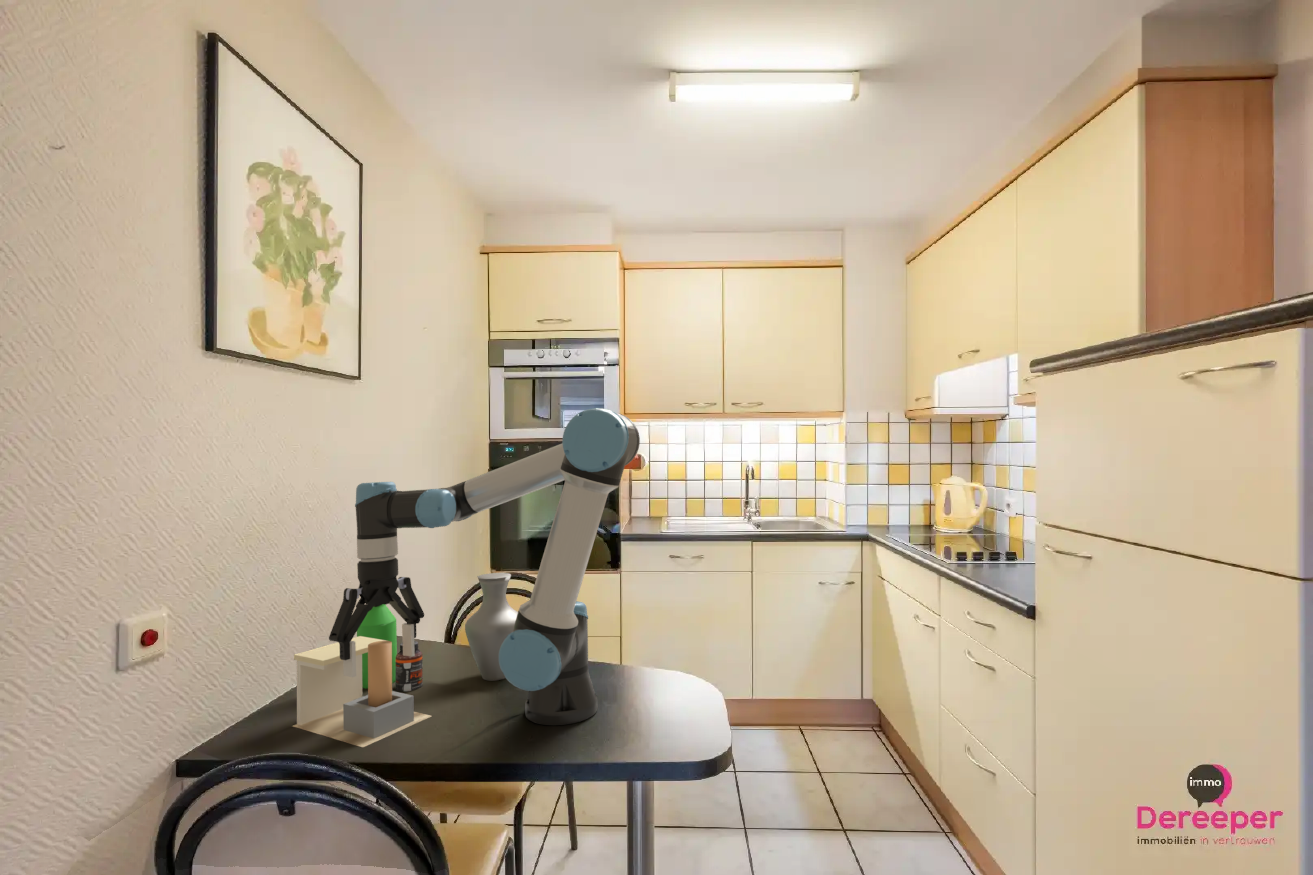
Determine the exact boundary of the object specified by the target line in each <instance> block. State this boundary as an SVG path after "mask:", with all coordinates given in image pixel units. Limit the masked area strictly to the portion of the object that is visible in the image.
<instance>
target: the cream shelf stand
mask: <svg viewBox="0 0 1313 875" xmlns="http://www.w3.org/2000/svg"><path fill="white" fill-rule="evenodd" d="M351 641H355V647H356V676H355V677H349V676H344V669H343V660H341V659H340V645H339V642H335V643H334V642H333V643H330V644H327V645H324V646H320V647H316V648H313V649H310V650H306V651H302V652H299V653H296V654H293V661H294V660H295V661H296V724H298V725H302V724H305V723H307V722H310V721H313V720H315V719H318V718H320V717H323V716H326V715H328V714H331V713H334V712H336V711H339V710H341V709H343V704H345V703H347V702H350V701H353V700H355V699H358V698H361V697H363V688H362V654H364V653H367V652H368V644H370V643H373V642H377V641H386V640H380V639H374V638H368V637H363V636H359V637H357V636H354V637H353V638H352V640H351Z"/></svg>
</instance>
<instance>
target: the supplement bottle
mask: <svg viewBox="0 0 1313 875" xmlns="http://www.w3.org/2000/svg"><path fill="white" fill-rule="evenodd" d="M414 648H415V656H412V657H410V656H404V655H403V642H401V643H400V644H399V652H397V655H396V682H395V691H396V692H410V691H411V692H413V691H416V690H419V689H420V688H422V687H423V685H424V684H423V679H424V678H423V675H424V674H423V670H424V669H423V661H424V660H423V652H422V651H421V650H420V649H419V642H418V641H416V640H414Z"/></svg>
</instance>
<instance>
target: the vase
mask: <svg viewBox="0 0 1313 875" xmlns="http://www.w3.org/2000/svg"><path fill="white" fill-rule="evenodd" d="M511 577H512V574H511V573H507V572H493V573H490V572H489V573H483V574H481V575H477V577H476V578H477V579H478V582H479V584H480V587H481V591H482V597H483V598H482V601H481V605H480V607H479V608H478V609H477V611H476V612H474V613H473V614H472V615H471V616H470V617H469V618H468V619H467V620H466V621H465V624H464V630H465V631H464V632H465V635H466V638H467V642H468V645H469V647H470V648H469V649H470V651H471V654H472V657H473V659H474V662H475V665H476V667H477V670H478V671H479V673H480V676H481V677H482V679H483V680H485V681H499V680H505V679H506V678H505V675H504V674H503V672H502V671H501V668H500V665H499V650H500V647H501V645H502V643H503V642H504V639H506V637H507V636H508V635H509V634H510V633H512V631H513V627H514V624H515V621H516V618H517V614H518V611H517V610H516V609H514V608H513V607H512V606H511V605H510V604H509V602H508V600H507V594H506V593H507V589H508V586H509V581H510V580H511Z"/></svg>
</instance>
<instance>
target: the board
mask: <svg viewBox="0 0 1313 875" xmlns="http://www.w3.org/2000/svg"><path fill="white" fill-rule="evenodd" d="M431 717H433V716H432V715H430V714H425V713H422V712H417V711H414V721H412V722H410V723H408V724H406V725H404V726H401V727H399V728H397V729H395V730H392V731H390V732H388V733H386V734H383V735H381V736H379V737H377V738H375V739H374V738H370V737H367V736H363V735H360V734H356V733H353V732H349V731H346V730H344V723H343V709H341V710H339V711H336V712H334V713H331V714H328V715H326V716H323V717H320V718H318V719H315V720H313V721H310V722H307V723H305V724H302V725H298V724H297V723H296V724H294V725H292V727H293V728H296V729H300V730H303V731H307V732H310V733H313V734H317V735H320V736H324V737H327V738H330V739H334V740H337V741H339V742H340V741H341V742H344V743H346V744H350V745H353V746H357V747H359V748H360V747H361V748H365V747H367V746H369V745H372V744H373V743H374V744H375V743H377V742H378V741H380V740H383V739H384V738H385V739H386V738H387V737H390V736H391V735H392V736H393V735H394V734H396V733H399V732H401V731H403V730H405V729H407V728H409V727H411V726H413V725H416V724H418V723H420V722H423V721H425V720H427V719H430V718H431Z"/></svg>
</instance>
